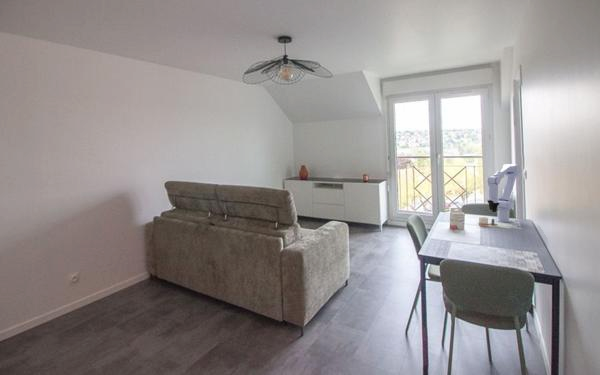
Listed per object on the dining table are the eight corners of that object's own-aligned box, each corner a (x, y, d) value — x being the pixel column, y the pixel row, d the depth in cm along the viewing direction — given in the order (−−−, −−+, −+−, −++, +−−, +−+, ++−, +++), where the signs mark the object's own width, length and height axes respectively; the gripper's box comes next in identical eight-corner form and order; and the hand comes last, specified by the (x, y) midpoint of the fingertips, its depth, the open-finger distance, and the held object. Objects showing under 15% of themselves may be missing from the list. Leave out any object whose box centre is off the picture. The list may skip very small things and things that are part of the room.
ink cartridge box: (452, 229, 230) (452, 209, 229) (449, 227, 235) (449, 207, 233) (464, 229, 230) (465, 209, 228) (461, 227, 234) (462, 207, 233)
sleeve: (483, 222, 241) (483, 216, 240) (489, 224, 235) (489, 217, 235) (477, 223, 240) (477, 216, 239) (483, 225, 234) (483, 218, 234)
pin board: (477, 223, 243) (477, 217, 243) (495, 224, 239) (496, 217, 239) (480, 227, 234) (480, 220, 233) (499, 227, 230) (499, 220, 229)
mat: (495, 223, 242) (495, 222, 242) (509, 223, 239) (509, 223, 239) (498, 226, 234) (498, 225, 234) (513, 226, 231) (513, 226, 231)
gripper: (485, 191, 246) (484, 208, 248) (489, 194, 233) (488, 212, 234) (495, 191, 244) (495, 209, 246) (500, 194, 230) (500, 212, 232)
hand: (492, 210), depth 240 cm, fingers open, 7 cm apart
